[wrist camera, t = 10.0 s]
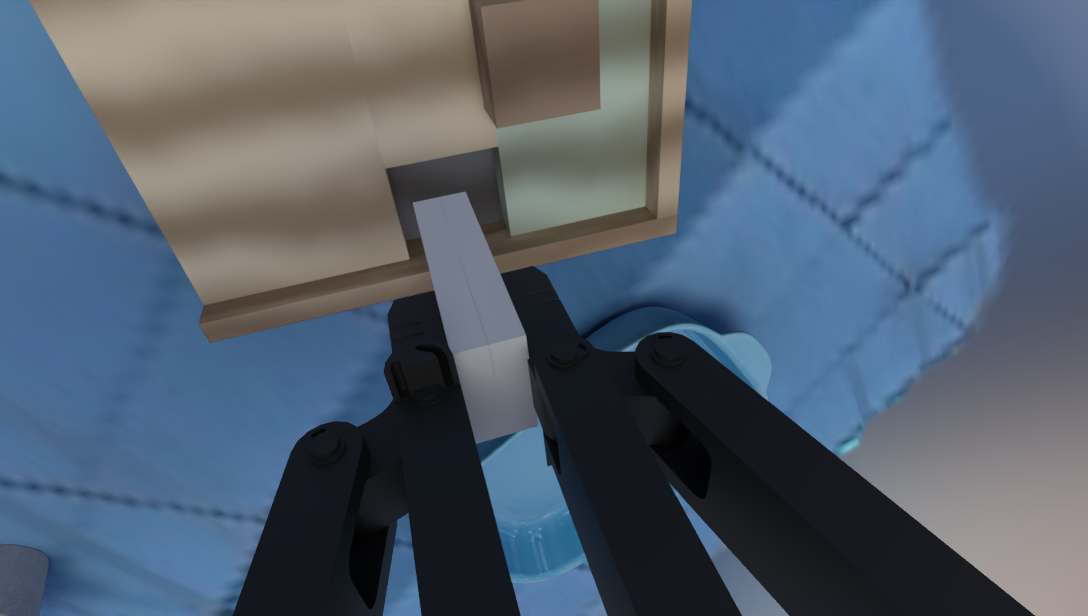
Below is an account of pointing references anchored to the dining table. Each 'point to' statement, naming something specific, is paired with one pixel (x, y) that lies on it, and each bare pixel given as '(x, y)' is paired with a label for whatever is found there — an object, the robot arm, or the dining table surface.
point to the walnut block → (537, 58)
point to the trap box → (364, 142)
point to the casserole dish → (531, 487)
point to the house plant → (21, 580)
